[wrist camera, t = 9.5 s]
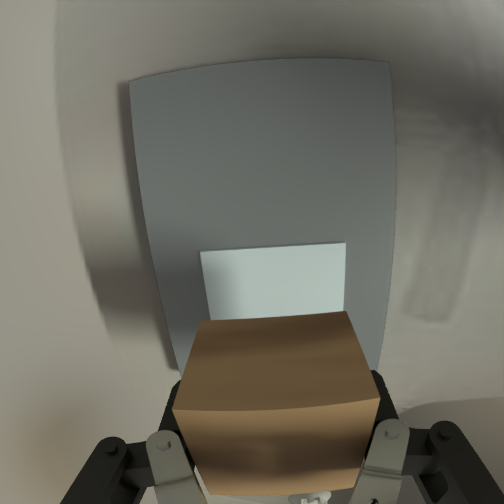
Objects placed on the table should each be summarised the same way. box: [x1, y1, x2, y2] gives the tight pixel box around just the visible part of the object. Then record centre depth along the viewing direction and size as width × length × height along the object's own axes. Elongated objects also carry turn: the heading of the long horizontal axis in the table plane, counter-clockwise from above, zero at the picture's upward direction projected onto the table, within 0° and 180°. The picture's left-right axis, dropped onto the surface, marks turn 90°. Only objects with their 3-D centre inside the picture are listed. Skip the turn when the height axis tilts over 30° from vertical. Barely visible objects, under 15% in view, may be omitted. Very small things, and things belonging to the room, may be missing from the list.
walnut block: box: [172, 311, 380, 496], centre depth 11 cm, size 6×6×5 cm
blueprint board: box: [129, 58, 396, 378], centre depth 18 cm, size 20×14×1 cm
